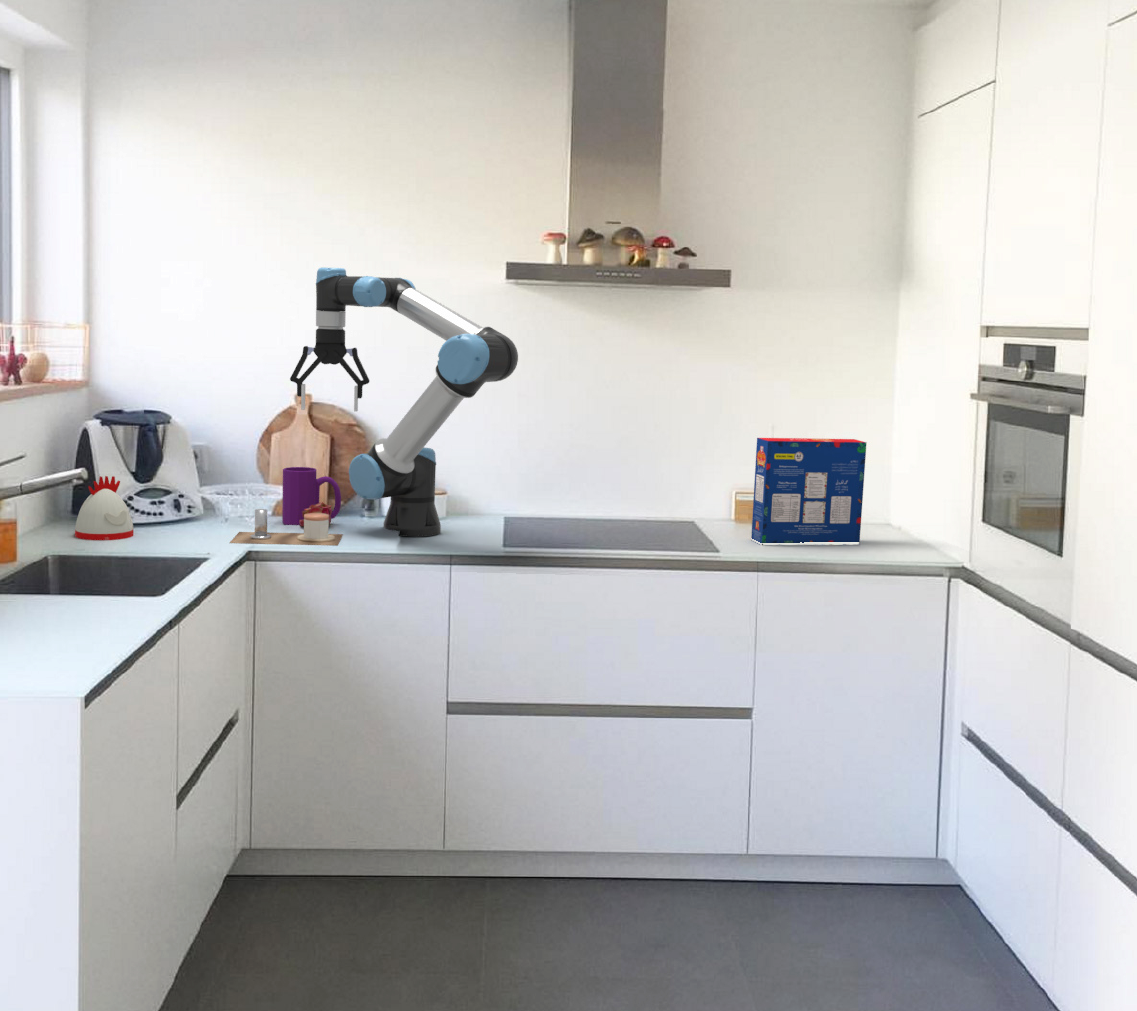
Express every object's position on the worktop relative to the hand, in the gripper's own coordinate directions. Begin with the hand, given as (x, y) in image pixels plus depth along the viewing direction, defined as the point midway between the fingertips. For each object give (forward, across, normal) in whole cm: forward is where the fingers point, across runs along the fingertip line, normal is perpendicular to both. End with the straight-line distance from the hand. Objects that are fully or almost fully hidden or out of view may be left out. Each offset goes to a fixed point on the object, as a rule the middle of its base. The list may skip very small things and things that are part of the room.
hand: (329, 410), depth 364 cm
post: (+30, +14, +22) cm, 40 cm away
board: (+32, +8, +22) cm, 39 cm away
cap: (+30, +1, +22) cm, 37 cm away
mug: (+32, +5, -9) cm, 34 cm away
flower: (+32, +3, +3) cm, 32 cm away
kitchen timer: (+32, +54, +15) cm, 65 cm away
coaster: (+30, +1, +22) cm, 37 cm away
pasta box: (+32, -128, +2) cm, 132 cm away
